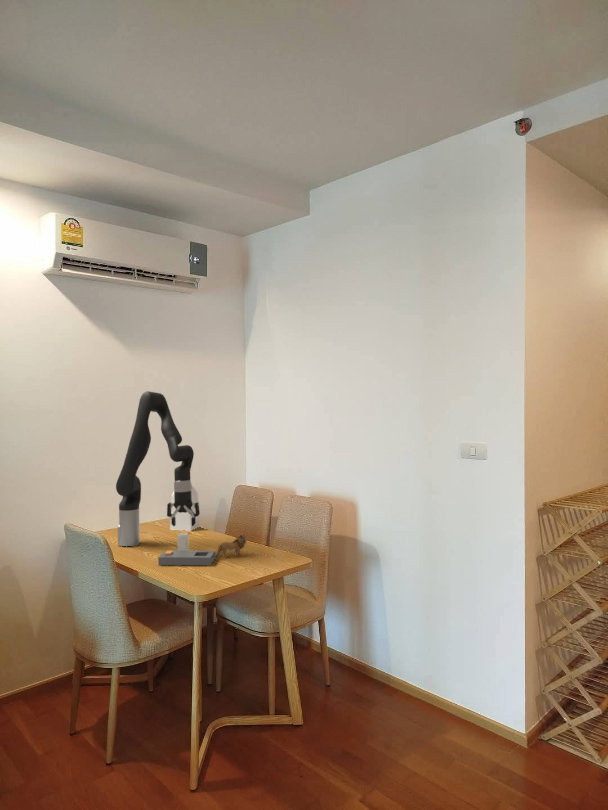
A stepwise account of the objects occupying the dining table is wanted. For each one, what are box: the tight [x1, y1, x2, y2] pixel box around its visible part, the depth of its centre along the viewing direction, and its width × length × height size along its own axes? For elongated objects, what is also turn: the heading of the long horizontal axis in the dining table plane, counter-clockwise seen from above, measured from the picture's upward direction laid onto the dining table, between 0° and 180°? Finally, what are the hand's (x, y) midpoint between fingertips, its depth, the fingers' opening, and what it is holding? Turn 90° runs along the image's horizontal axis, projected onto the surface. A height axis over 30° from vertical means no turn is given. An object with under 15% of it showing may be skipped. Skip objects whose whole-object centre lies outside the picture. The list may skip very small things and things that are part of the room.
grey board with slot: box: [157, 550, 216, 567], centre depth 230 cm, size 22×10×4 cm, turn 88°
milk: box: [169, 483, 201, 532], centre depth 290 cm, size 12×12×26 cm
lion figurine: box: [215, 534, 247, 559], centre depth 238 cm, size 15×5×9 cm, turn 120°
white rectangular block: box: [176, 532, 190, 551], centre depth 242 cm, size 4×4×9 cm
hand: (183, 525), depth 243 cm, fingers open, 8 cm apart
